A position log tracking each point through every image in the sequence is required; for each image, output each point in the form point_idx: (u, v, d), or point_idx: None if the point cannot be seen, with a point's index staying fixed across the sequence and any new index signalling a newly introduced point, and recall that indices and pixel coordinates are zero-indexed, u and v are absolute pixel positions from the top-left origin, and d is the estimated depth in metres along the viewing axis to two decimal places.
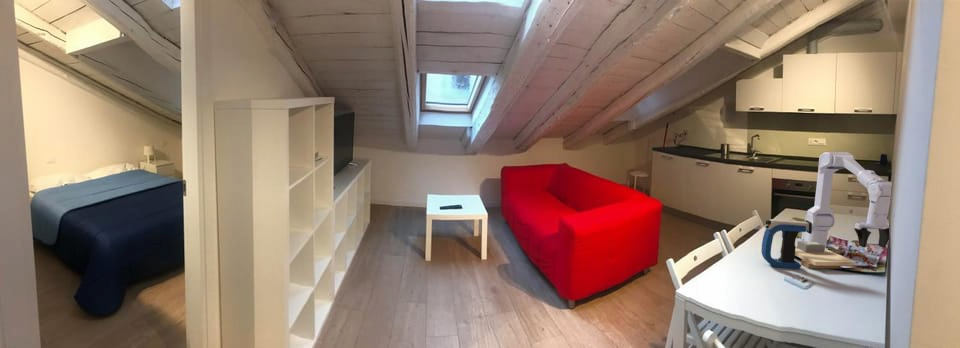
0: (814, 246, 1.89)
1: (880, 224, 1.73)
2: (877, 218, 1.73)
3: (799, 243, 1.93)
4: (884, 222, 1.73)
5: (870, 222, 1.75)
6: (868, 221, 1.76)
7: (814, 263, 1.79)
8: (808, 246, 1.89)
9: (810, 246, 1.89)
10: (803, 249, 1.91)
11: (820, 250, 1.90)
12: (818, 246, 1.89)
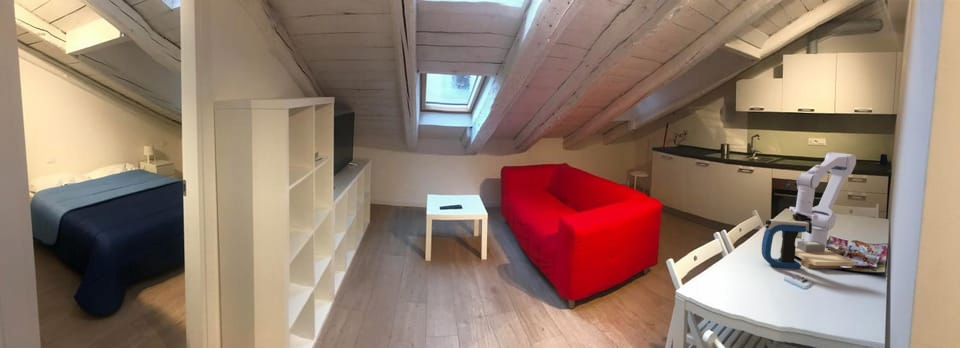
0: (814, 246, 1.89)
1: (796, 209, 1.97)
2: (796, 203, 1.97)
3: (799, 243, 1.93)
4: (798, 208, 1.96)
5: None
6: None
7: (814, 263, 1.79)
8: (808, 246, 1.89)
9: (810, 246, 1.89)
10: (803, 249, 1.91)
11: (820, 250, 1.90)
12: (818, 246, 1.89)
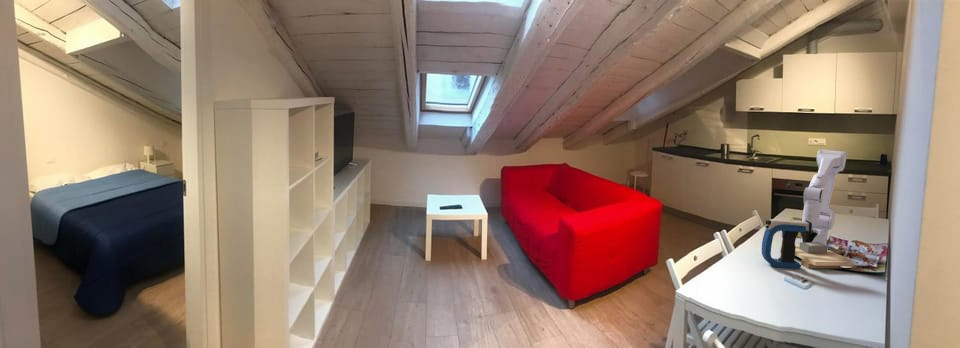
0: (817, 247, 1.88)
1: None
2: (802, 217, 1.94)
3: (801, 244, 1.92)
4: None
5: None
6: None
7: (814, 263, 1.79)
8: (811, 247, 1.88)
9: (813, 247, 1.88)
10: (806, 250, 1.89)
11: (823, 251, 1.88)
12: (821, 247, 1.88)
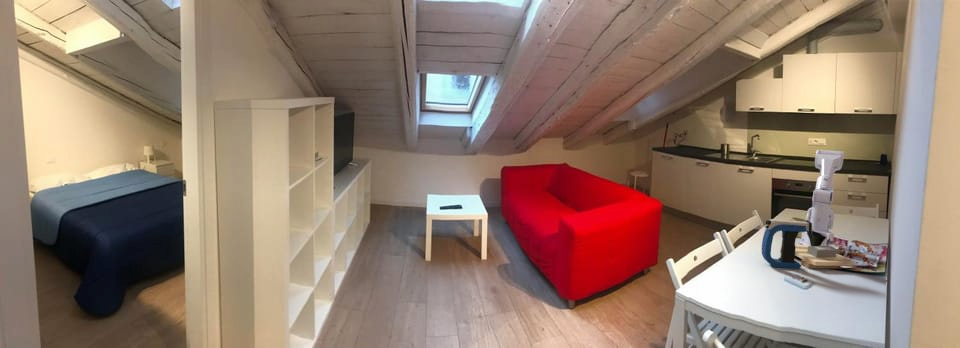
0: (825, 251, 1.83)
1: None
2: (810, 220, 1.89)
3: (810, 248, 1.87)
4: (812, 225, 1.87)
5: None
6: None
7: (814, 263, 1.79)
8: (819, 251, 1.83)
9: (821, 251, 1.83)
10: (814, 254, 1.85)
11: (831, 255, 1.84)
12: (829, 251, 1.83)
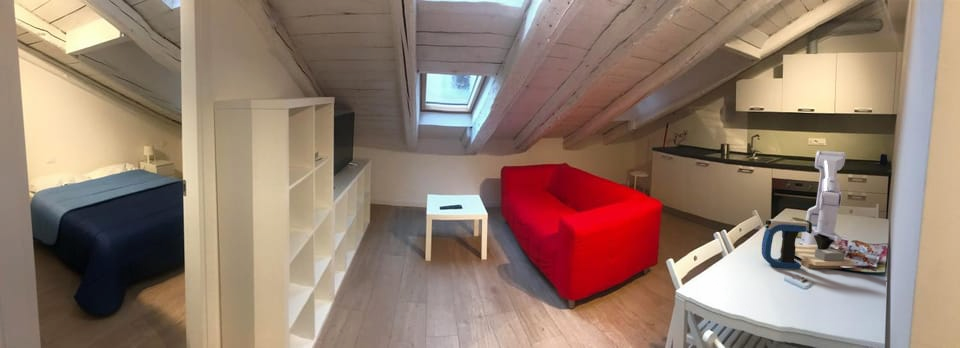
0: (833, 255, 1.79)
1: (817, 229, 1.85)
2: (817, 223, 1.85)
3: (817, 251, 1.83)
4: (819, 228, 1.83)
5: None
6: None
7: (814, 263, 1.79)
8: (827, 255, 1.79)
9: (829, 255, 1.79)
10: (821, 258, 1.81)
11: (839, 259, 1.80)
12: (837, 254, 1.79)
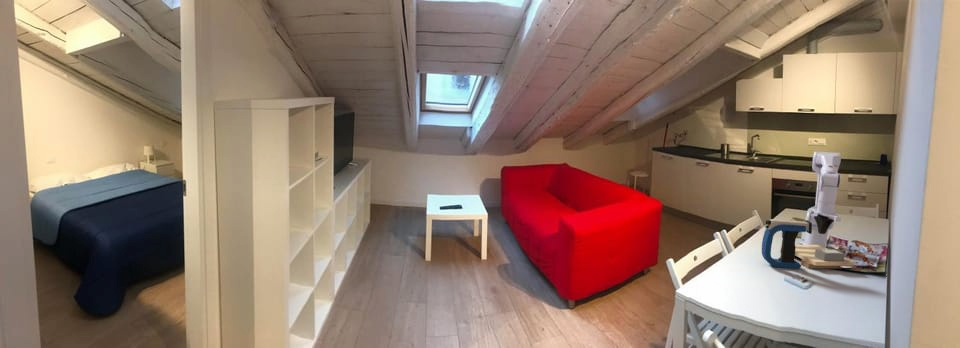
0: (833, 255, 1.79)
1: (817, 210, 1.91)
2: (817, 204, 1.92)
3: (817, 251, 1.83)
4: (819, 209, 1.90)
5: None
6: None
7: (814, 263, 1.79)
8: (827, 255, 1.79)
9: (829, 255, 1.79)
10: (821, 258, 1.81)
11: (839, 259, 1.80)
12: (837, 254, 1.79)
